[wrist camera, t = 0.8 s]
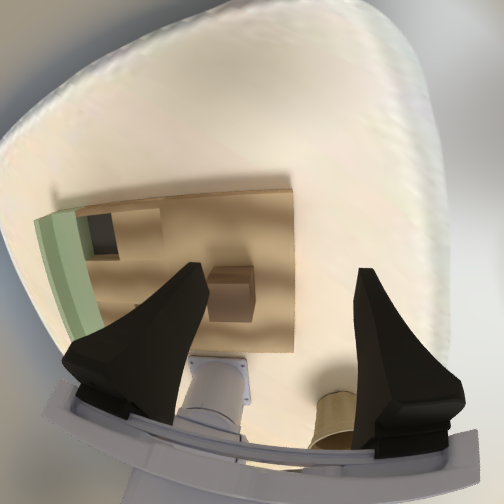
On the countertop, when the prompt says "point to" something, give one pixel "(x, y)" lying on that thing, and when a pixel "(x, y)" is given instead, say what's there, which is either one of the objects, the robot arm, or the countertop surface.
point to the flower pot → (334, 422)
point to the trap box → (174, 260)
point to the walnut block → (231, 294)
